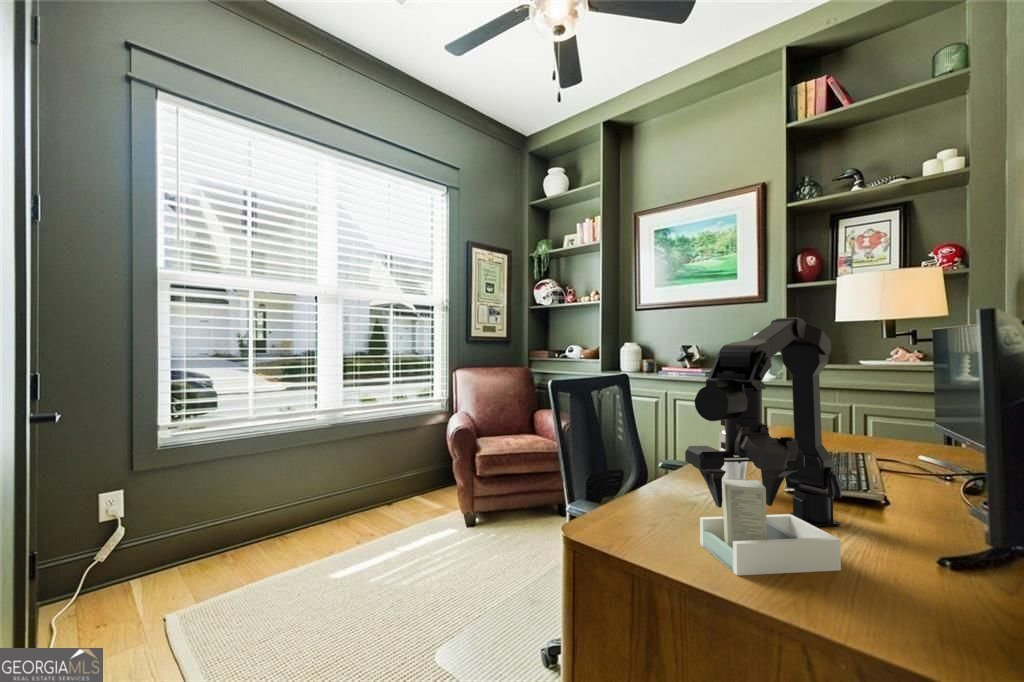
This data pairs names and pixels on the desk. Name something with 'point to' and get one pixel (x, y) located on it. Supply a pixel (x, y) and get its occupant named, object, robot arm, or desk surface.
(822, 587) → the desk surface
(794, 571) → the box
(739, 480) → the skincare box
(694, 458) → the robot arm
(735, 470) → the beer glass
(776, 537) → the tall grey panel
